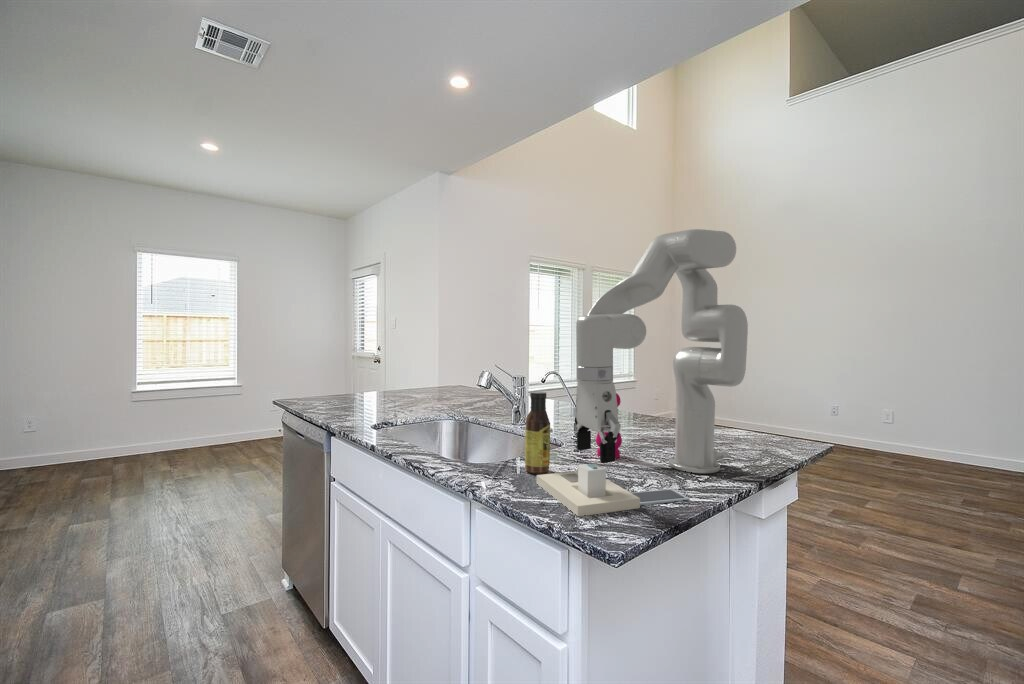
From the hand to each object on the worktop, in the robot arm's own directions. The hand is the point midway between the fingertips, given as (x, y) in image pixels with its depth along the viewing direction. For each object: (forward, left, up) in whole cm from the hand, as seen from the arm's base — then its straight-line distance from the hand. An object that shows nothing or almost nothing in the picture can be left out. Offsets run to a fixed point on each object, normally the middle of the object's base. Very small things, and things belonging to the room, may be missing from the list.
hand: (595, 455), depth 98 cm
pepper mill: (-21, -29, -9) cm, 37 cm away
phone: (-13, +3, -10) cm, 17 cm away
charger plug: (+1, 0, -9) cm, 9 cm away
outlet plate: (+1, -3, -9) cm, 10 cm away
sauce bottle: (+4, -22, -9) cm, 24 cm away
